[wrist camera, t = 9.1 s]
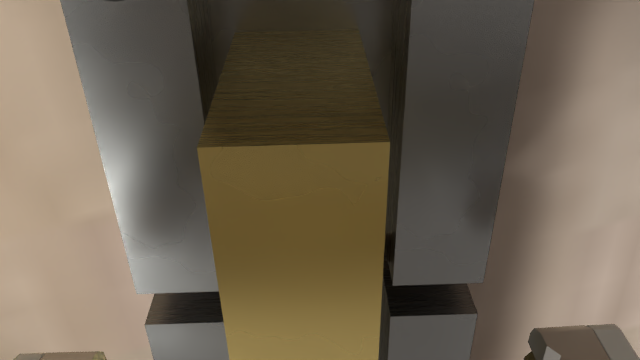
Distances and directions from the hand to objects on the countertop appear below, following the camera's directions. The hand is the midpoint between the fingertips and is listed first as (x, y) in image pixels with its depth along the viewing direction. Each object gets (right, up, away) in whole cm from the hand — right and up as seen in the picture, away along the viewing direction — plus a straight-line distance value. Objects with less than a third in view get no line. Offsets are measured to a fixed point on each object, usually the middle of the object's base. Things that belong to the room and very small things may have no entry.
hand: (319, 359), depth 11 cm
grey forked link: (0, +6, +2) cm, 7 cm away
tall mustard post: (0, +2, +4) cm, 4 cm away
